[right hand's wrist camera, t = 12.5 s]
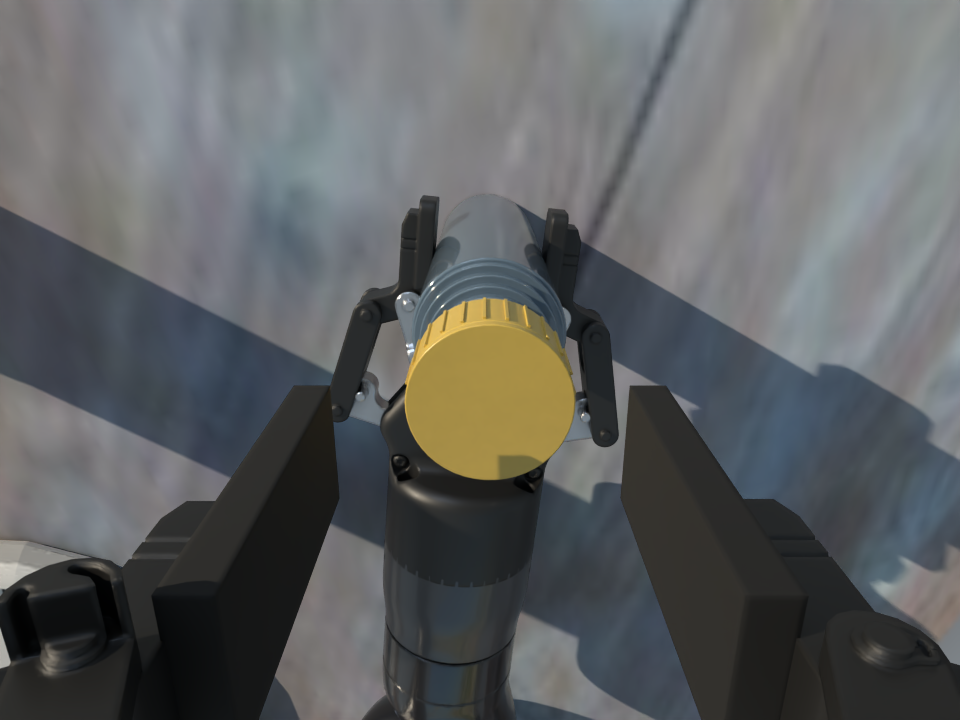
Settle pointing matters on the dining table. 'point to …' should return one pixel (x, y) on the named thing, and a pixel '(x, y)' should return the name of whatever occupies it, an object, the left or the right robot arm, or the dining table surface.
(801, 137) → the dining table surface
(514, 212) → the bottle
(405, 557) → the left robot arm
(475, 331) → the cap
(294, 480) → the right robot arm
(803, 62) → the dining table surface
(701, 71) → the dining table surface
